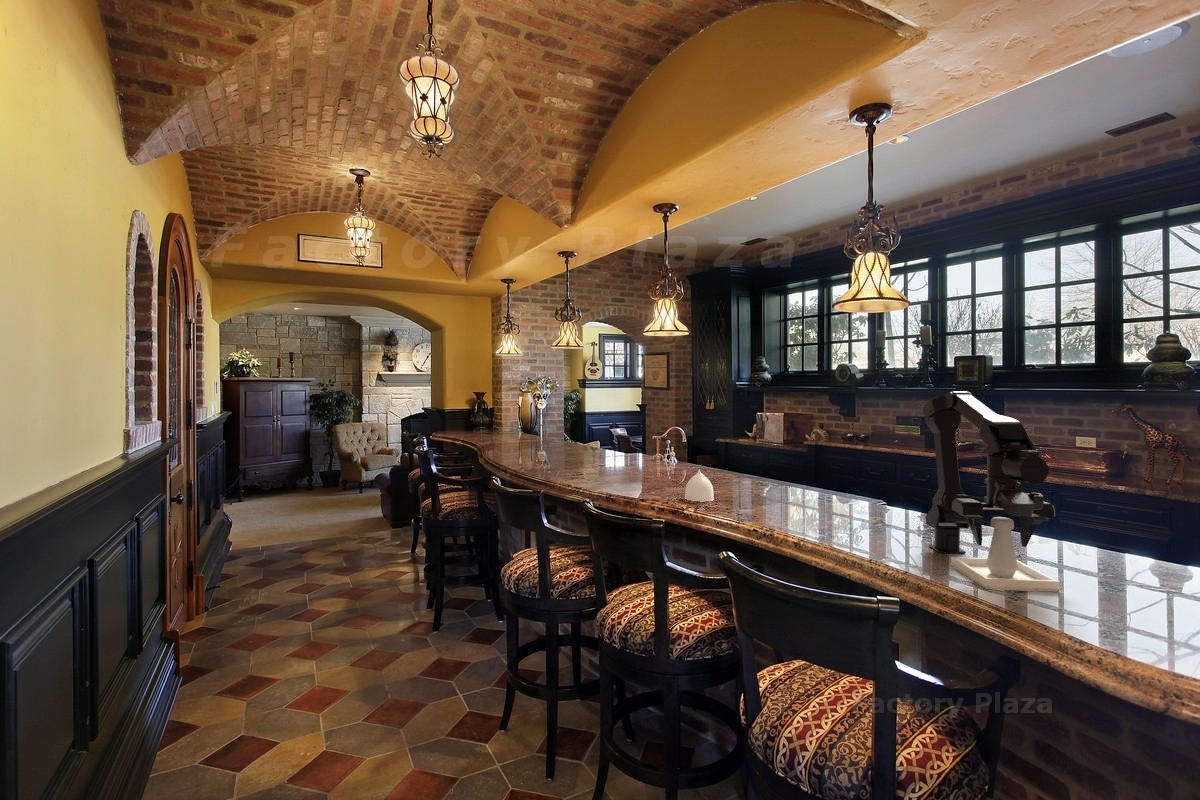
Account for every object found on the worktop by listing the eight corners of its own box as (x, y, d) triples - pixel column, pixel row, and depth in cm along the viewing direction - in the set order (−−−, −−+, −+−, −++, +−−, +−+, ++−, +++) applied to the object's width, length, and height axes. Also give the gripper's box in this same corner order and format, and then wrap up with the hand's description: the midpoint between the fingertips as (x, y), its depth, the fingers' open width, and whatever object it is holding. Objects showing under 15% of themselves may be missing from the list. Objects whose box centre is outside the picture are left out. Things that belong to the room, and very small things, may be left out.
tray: (951, 566, 139) (951, 556, 139) (1014, 568, 137) (1015, 558, 137) (986, 589, 123) (986, 579, 123) (1058, 592, 121) (1059, 581, 121)
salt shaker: (987, 569, 134) (988, 513, 134) (1018, 574, 131) (1018, 517, 130) (985, 576, 130) (985, 518, 129) (1016, 581, 126) (1017, 522, 126)
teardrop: (683, 497, 227) (683, 466, 226) (711, 497, 226) (711, 466, 226) (686, 503, 216) (686, 471, 215) (716, 503, 215) (716, 470, 215)
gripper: (975, 481, 123) (974, 554, 123) (1072, 483, 120) (1071, 557, 121) (951, 473, 134) (950, 540, 134) (1039, 474, 131) (1038, 543, 132)
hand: (1001, 545), depth 130 cm, fingers open, 9 cm apart
